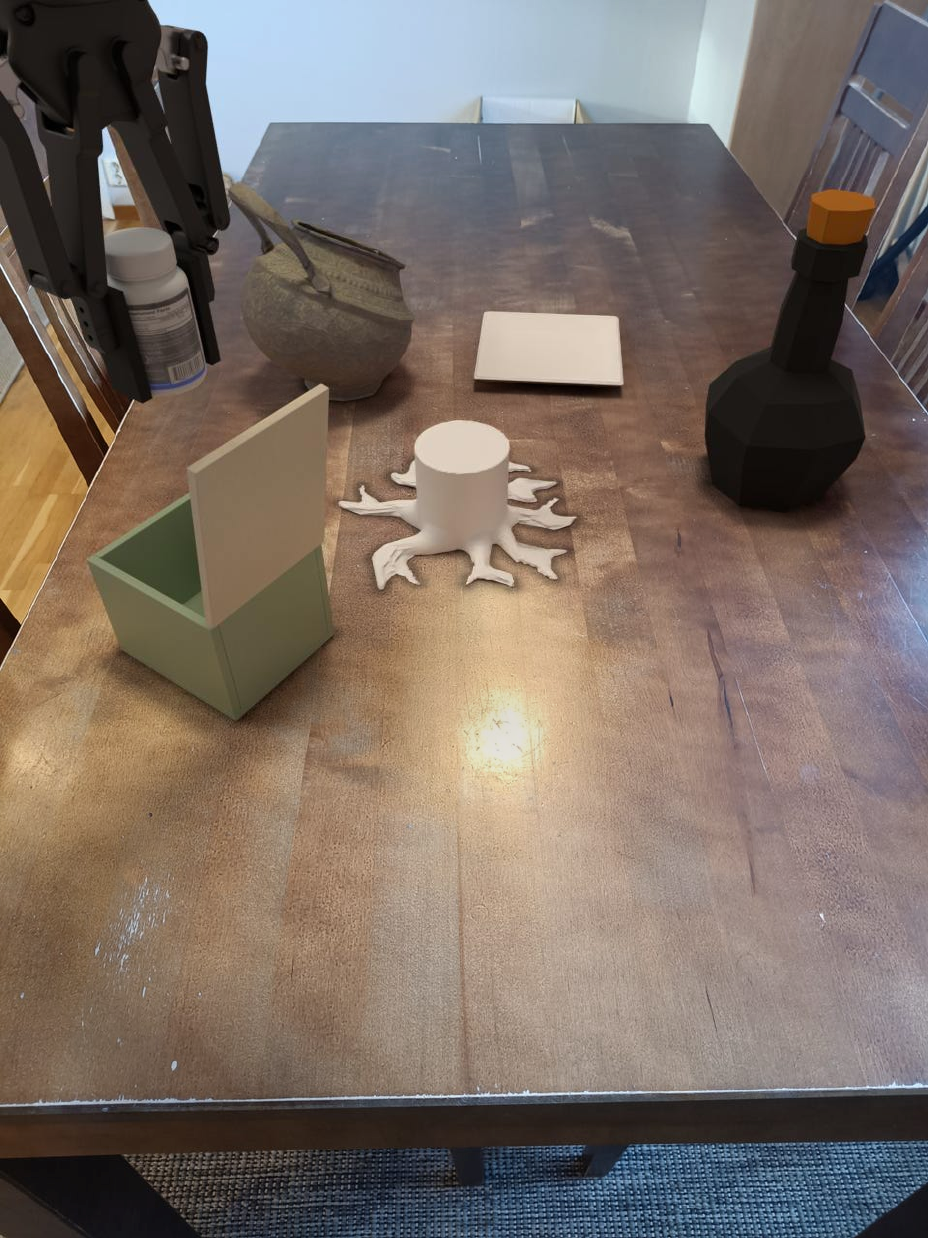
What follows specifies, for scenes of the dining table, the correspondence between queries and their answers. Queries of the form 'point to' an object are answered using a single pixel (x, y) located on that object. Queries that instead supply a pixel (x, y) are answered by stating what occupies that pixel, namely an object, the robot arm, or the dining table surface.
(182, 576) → the box
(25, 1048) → the dining table surface
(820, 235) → the bottle
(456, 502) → the white tree stump
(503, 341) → the plate
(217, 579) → the lid
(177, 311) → the pill bottle
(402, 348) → the pot
